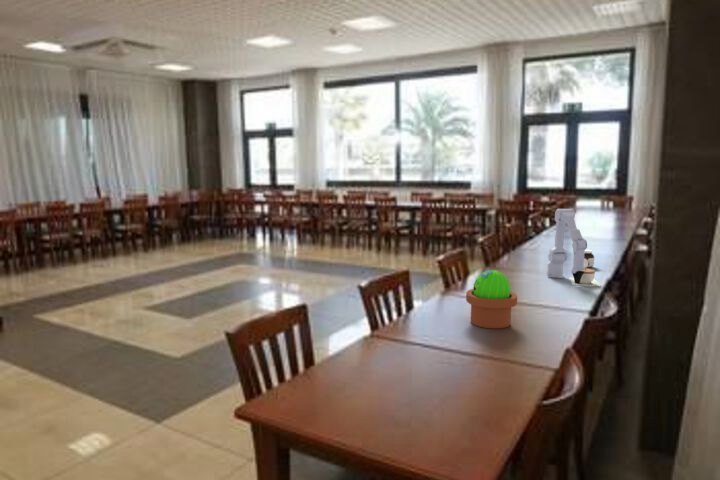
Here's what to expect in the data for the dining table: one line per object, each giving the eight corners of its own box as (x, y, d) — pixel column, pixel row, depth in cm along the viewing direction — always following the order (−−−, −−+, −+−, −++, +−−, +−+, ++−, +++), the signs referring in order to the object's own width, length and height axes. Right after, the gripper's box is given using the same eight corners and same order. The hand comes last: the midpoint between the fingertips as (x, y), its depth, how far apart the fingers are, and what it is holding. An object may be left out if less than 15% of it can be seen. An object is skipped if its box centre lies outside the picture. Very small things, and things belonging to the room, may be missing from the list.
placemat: (573, 284, 310) (573, 284, 310) (568, 277, 328) (568, 277, 328) (600, 286, 306) (600, 285, 306) (594, 279, 324) (594, 278, 324)
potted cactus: (506, 315, 250) (509, 263, 246) (522, 330, 228) (525, 274, 224) (460, 316, 249) (462, 264, 245) (472, 331, 227) (474, 274, 223)
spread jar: (591, 266, 364) (592, 249, 362) (596, 269, 353) (598, 252, 351) (573, 265, 365) (574, 249, 363) (578, 269, 354) (579, 252, 352)
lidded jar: (597, 285, 308) (598, 269, 307) (578, 284, 309) (579, 269, 307) (589, 280, 319) (590, 265, 318) (571, 280, 319) (572, 265, 318)
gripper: (580, 263, 296) (579, 286, 298) (590, 259, 306) (588, 282, 308) (568, 261, 301) (566, 284, 303) (578, 258, 311) (576, 280, 313)
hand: (577, 283), depth 306 cm, fingers closed
